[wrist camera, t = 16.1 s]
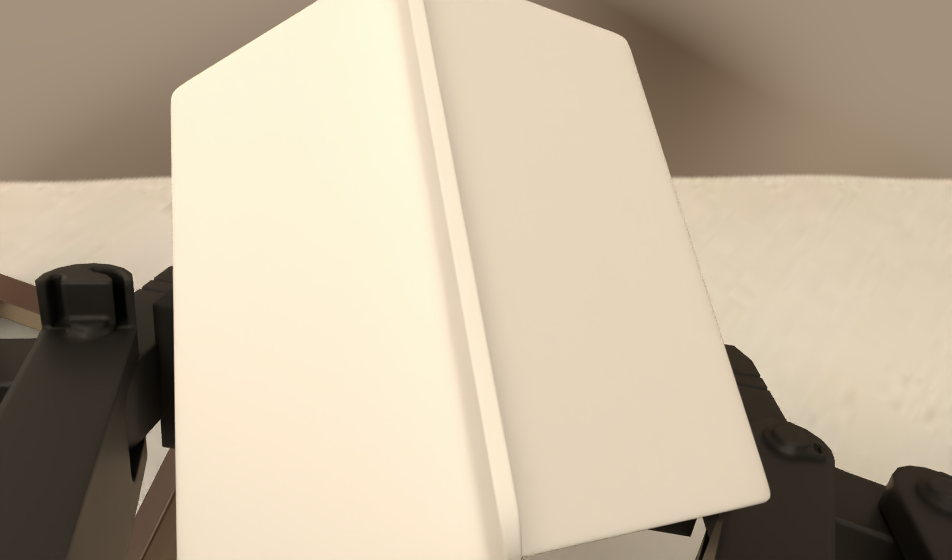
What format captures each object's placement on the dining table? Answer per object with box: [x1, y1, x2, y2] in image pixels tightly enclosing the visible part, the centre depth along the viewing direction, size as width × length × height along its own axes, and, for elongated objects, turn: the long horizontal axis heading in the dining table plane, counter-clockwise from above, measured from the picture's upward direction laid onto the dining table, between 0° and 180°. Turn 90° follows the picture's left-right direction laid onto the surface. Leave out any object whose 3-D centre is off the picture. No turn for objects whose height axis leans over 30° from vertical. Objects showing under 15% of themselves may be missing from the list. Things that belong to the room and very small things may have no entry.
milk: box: [171, 0, 770, 560], centre depth 15 cm, size 6×6×22 cm
